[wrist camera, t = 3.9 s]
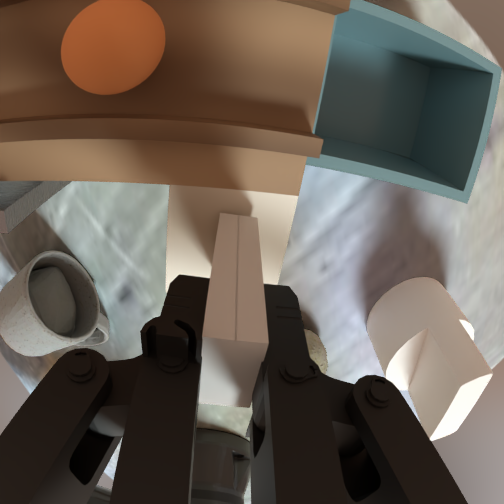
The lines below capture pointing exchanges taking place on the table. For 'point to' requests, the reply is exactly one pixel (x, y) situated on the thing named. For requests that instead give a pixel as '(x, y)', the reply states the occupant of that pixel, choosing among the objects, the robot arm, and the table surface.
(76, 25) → the ball
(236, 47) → the wooden ramp track
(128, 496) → the robot arm
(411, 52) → the open box
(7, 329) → the ceramic mug
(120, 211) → the table surface
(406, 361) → the cylinder with rectangular tab
